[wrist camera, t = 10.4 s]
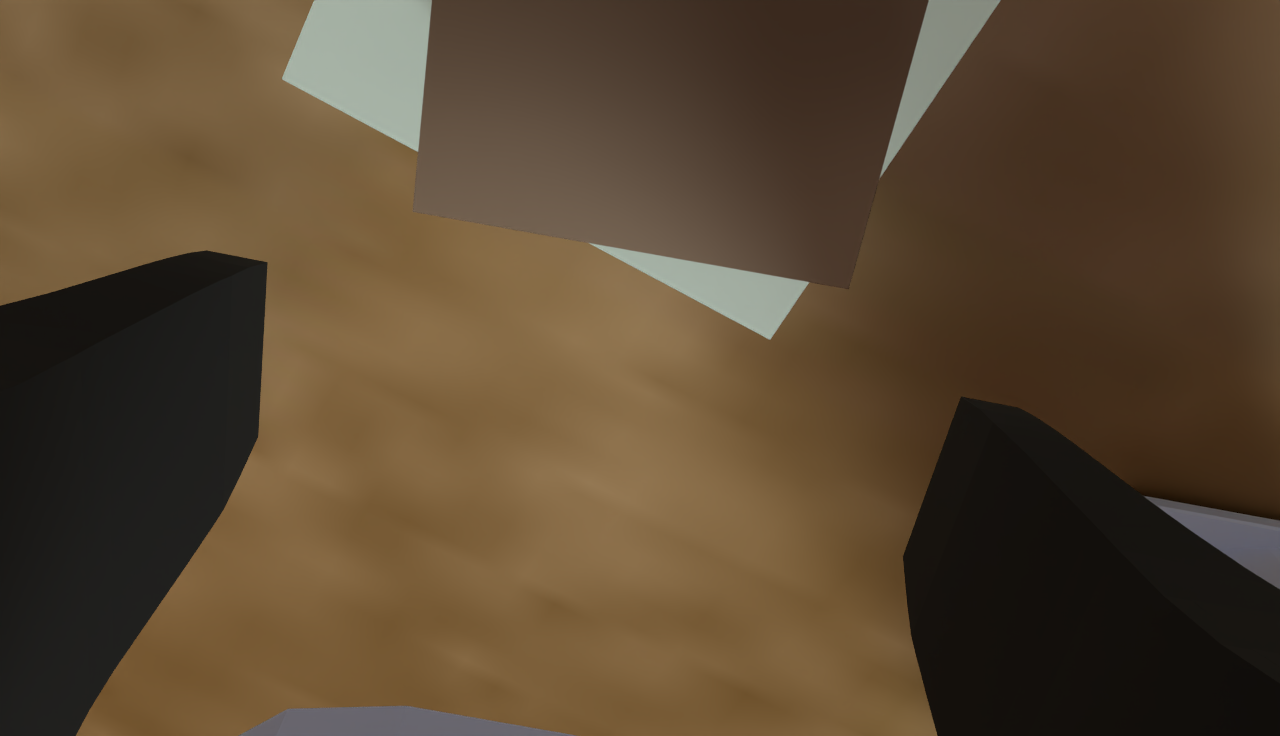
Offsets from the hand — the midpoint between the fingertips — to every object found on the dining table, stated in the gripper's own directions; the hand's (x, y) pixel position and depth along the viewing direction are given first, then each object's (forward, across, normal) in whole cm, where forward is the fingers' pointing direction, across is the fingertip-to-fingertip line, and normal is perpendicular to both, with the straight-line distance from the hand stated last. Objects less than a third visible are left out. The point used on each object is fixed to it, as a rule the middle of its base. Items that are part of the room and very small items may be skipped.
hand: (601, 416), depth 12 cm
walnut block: (+6, 0, -4) cm, 7 cm away
